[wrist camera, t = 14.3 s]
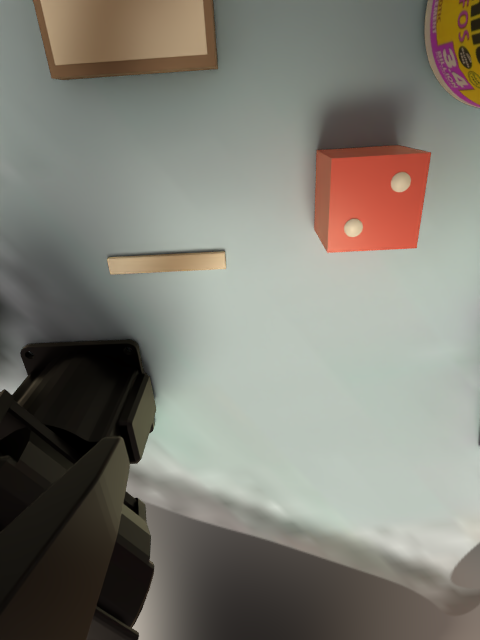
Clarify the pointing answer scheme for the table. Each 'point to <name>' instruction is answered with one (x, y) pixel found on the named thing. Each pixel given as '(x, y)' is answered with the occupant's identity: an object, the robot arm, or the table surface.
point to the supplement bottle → (455, 47)
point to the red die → (370, 197)
